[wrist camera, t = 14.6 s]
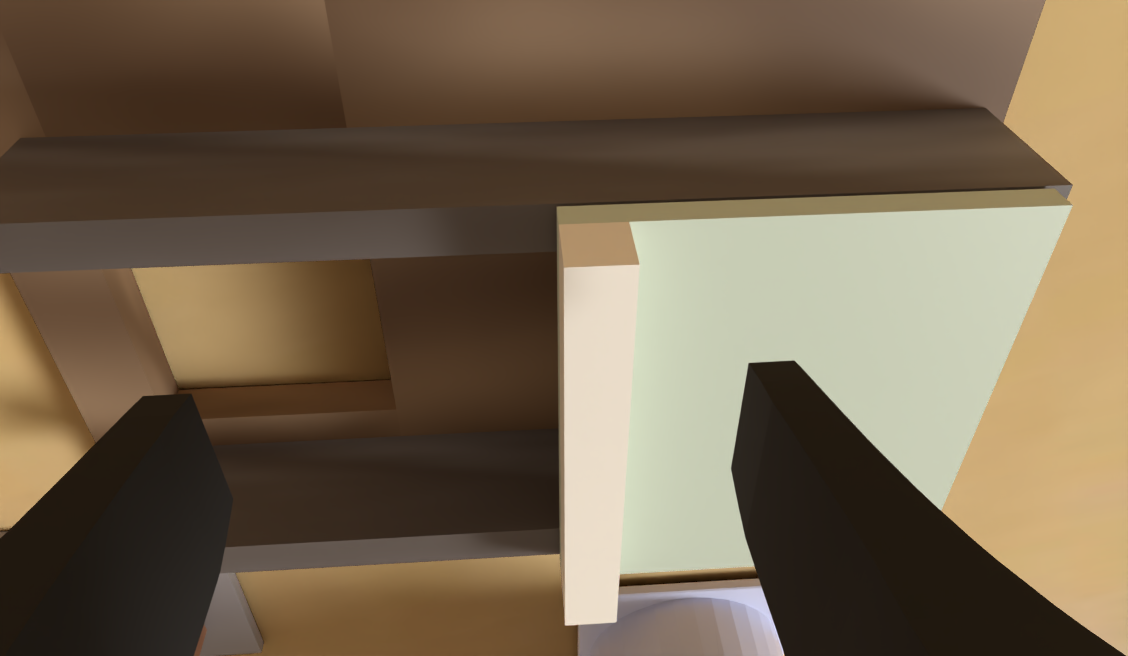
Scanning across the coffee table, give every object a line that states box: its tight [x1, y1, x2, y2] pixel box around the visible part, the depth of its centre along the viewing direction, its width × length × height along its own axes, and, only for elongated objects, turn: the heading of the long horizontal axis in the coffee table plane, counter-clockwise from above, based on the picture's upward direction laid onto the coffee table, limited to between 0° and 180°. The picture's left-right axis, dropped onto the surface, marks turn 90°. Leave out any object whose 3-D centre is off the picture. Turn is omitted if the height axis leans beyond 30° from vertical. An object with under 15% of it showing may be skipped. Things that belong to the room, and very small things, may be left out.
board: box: [0, 0, 1073, 573], centre depth 19 cm, size 16×22×5 cm
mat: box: [0, 531, 264, 656], centre depth 28 cm, size 7×7×1 cm
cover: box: [557, 188, 1073, 626], centre depth 17 cm, size 10×9×2 cm
